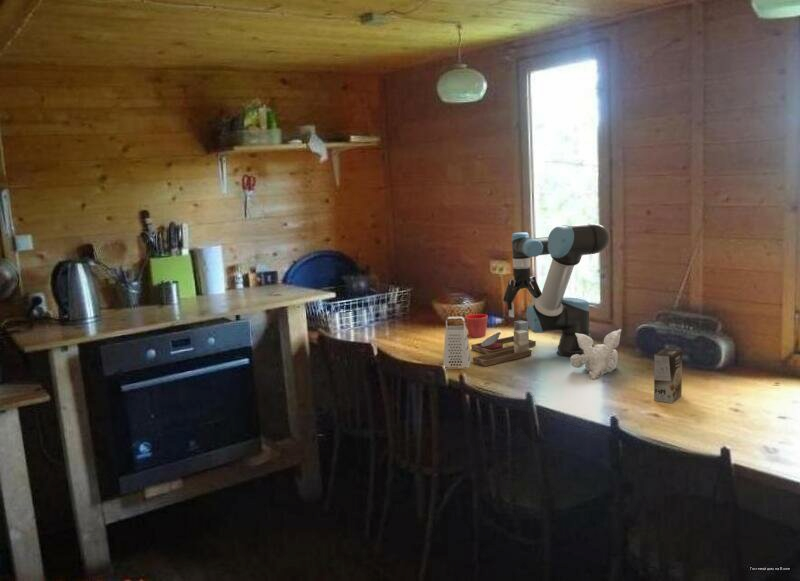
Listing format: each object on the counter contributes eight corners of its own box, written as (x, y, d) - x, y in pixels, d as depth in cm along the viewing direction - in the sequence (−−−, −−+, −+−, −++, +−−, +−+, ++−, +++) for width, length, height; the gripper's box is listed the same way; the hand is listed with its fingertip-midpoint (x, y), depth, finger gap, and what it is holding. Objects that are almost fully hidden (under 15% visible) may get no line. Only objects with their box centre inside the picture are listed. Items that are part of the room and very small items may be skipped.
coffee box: (672, 403, 239) (673, 356, 236) (653, 400, 243) (653, 354, 240) (682, 396, 246) (682, 350, 243) (663, 393, 250) (663, 348, 247)
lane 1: (535, 345, 321) (535, 323, 319) (491, 355, 309) (490, 332, 307) (515, 339, 333) (514, 318, 331) (471, 349, 321) (470, 327, 320)
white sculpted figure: (625, 340, 286) (620, 324, 269) (626, 390, 279) (621, 376, 262) (576, 341, 293) (568, 325, 276) (576, 390, 286) (568, 376, 269)
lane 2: (531, 355, 306) (530, 332, 304) (484, 366, 294) (483, 342, 292) (519, 351, 313) (518, 328, 311) (473, 362, 301) (472, 338, 299)
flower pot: (461, 335, 349) (460, 315, 347) (481, 332, 353) (480, 312, 352) (472, 339, 339) (472, 319, 338) (492, 336, 344) (492, 316, 342)
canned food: (498, 363, 314) (493, 347, 308) (478, 358, 320) (473, 342, 314) (510, 346, 321) (506, 330, 315) (490, 342, 327) (486, 325, 321)
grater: (468, 368, 294) (466, 320, 290) (442, 368, 296) (440, 320, 293) (471, 361, 304) (469, 314, 300) (446, 361, 306) (444, 315, 303)
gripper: (537, 263, 330) (539, 309, 333) (493, 270, 318) (496, 317, 321) (548, 264, 324) (550, 311, 327) (504, 271, 311) (506, 319, 315)
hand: (523, 314), depth 324 cm, fingers open, 13 cm apart
